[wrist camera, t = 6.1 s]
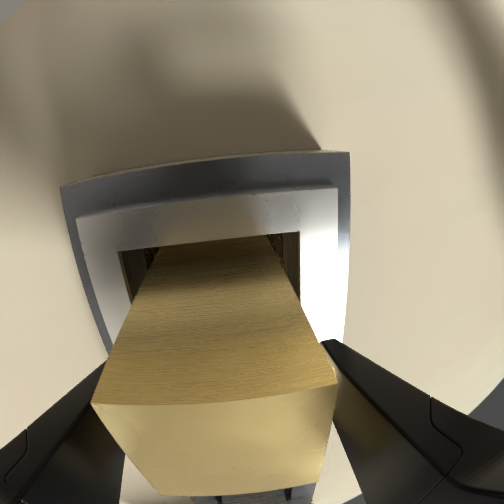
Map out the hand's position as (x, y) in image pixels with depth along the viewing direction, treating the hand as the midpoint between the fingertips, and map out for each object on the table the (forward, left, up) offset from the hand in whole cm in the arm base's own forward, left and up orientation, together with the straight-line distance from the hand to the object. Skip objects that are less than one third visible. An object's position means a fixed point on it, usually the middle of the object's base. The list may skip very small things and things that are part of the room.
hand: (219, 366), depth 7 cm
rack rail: (0, +8, -5) cm, 9 cm away
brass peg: (0, 0, -5) cm, 5 cm away
